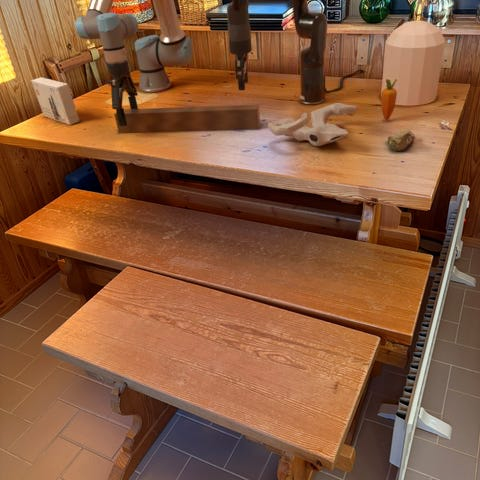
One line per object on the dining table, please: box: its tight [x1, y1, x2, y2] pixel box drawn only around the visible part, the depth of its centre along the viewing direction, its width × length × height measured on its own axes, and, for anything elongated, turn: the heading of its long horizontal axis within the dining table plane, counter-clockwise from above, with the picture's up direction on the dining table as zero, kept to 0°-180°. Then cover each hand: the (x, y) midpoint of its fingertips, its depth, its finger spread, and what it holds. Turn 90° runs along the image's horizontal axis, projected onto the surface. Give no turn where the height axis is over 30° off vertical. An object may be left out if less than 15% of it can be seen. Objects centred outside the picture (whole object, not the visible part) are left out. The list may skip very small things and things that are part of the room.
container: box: [380, 20, 446, 107], centre depth 176 cm, size 21×21×28 cm
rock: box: [387, 129, 416, 152], centre depth 146 cm, size 11×6×10 cm
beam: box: [114, 104, 261, 134], centre depth 174 cm, size 54×5×8 cm, turn 82°
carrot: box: [380, 79, 397, 122], centre depth 161 cm, size 5×5×15 cm
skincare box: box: [30, 76, 81, 126], centre depth 193 cm, size 21×5×16 cm, turn 49°
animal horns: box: [267, 102, 358, 147], centre depth 155 cm, size 28×26×12 cm
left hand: (129, 119), depth 177 cm, fingers open, 13 cm apart
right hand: (243, 86), depth 164 cm, fingers open, 8 cm apart
